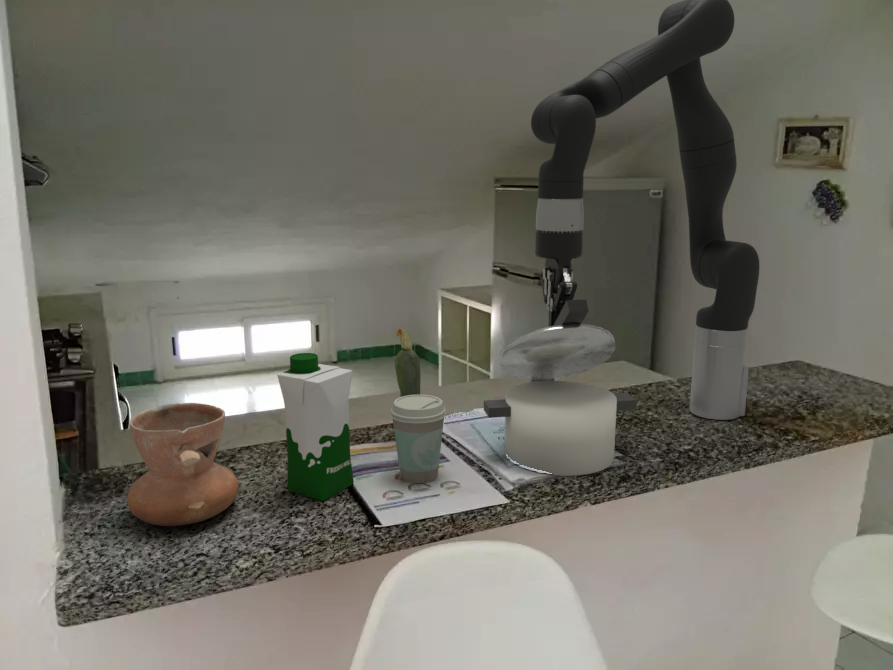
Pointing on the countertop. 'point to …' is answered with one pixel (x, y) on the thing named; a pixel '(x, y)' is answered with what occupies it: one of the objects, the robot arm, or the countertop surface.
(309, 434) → the milk carton
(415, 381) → the vegetable
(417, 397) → the coffee cup
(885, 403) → the countertop surface
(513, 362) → the cooker lid
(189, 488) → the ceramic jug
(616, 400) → the cooker pot
